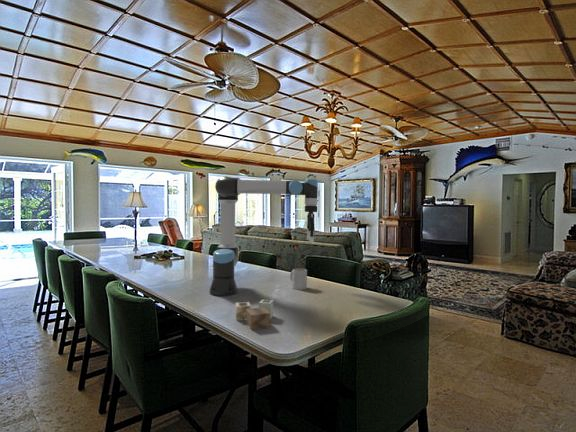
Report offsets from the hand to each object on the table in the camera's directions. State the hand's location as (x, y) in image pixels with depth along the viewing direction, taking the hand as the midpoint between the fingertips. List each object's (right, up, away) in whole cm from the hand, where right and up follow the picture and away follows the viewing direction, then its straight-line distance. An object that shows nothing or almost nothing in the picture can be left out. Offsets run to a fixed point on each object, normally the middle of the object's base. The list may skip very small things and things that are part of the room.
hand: (310, 241), depth 204 cm
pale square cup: (-23, -29, -54) cm, 65 cm away
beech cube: (-33, -29, -55) cm, 71 cm away
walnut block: (-26, -30, -64) cm, 75 cm away
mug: (-8, -28, +1) cm, 29 cm away
